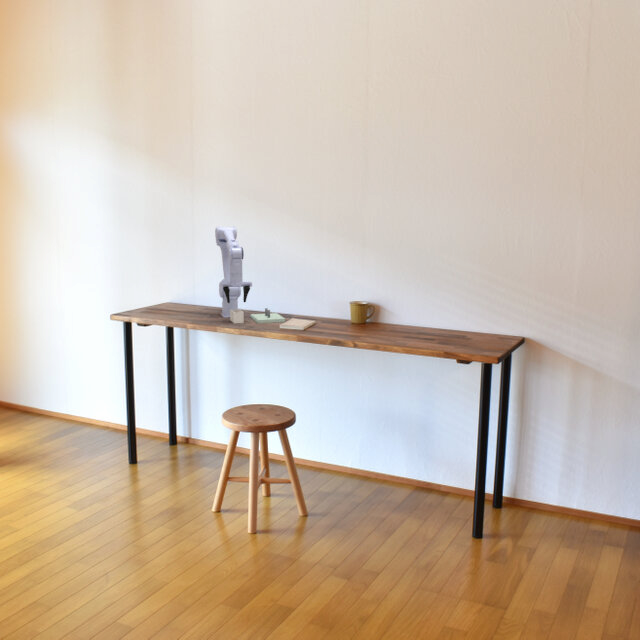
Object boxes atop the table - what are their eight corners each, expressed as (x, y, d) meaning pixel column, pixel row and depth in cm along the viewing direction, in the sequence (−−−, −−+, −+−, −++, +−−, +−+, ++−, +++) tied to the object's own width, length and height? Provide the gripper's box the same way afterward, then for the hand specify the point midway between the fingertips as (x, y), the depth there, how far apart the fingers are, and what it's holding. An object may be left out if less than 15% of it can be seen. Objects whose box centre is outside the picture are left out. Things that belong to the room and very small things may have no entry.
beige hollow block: (230, 320, 371) (230, 309, 370) (239, 319, 373) (239, 309, 372) (233, 323, 363) (233, 312, 362) (243, 322, 364) (243, 312, 363)
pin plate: (250, 317, 379) (250, 307, 378) (276, 316, 383) (276, 306, 382) (257, 323, 364) (257, 312, 363) (285, 321, 368) (285, 311, 367)
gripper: (222, 274, 358) (222, 304, 360) (253, 273, 362) (253, 302, 365) (219, 273, 364) (220, 301, 367) (250, 272, 369) (250, 300, 371)
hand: (236, 302), depth 366 cm, fingers open, 7 cm apart
